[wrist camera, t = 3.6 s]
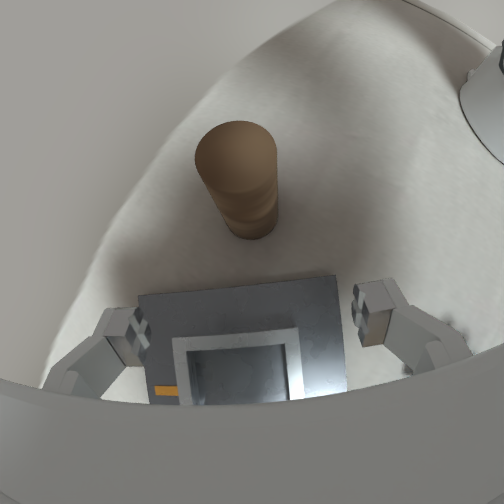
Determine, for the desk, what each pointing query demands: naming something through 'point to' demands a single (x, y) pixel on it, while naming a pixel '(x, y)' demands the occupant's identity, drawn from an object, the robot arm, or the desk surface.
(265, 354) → the square frame on plate
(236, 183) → the pin
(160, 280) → the desk surface
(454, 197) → the desk surface
